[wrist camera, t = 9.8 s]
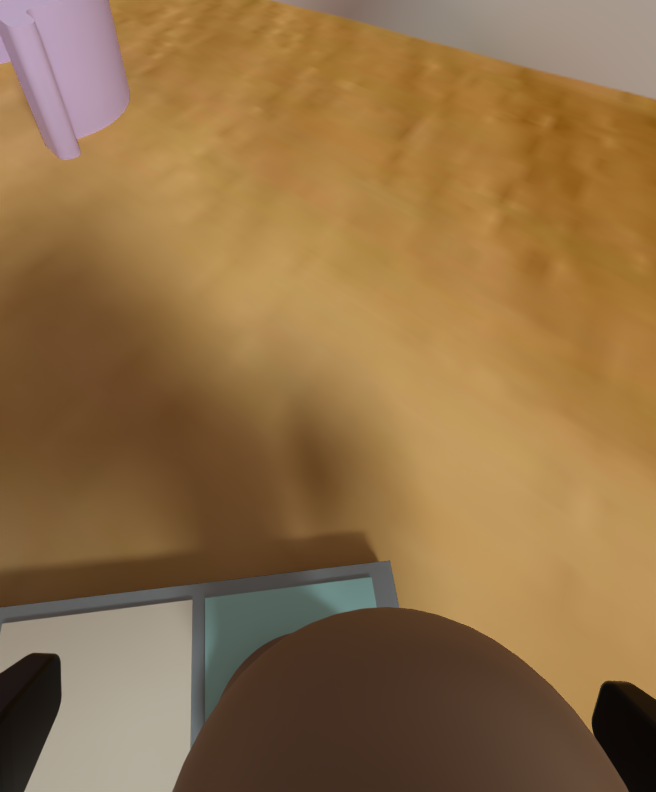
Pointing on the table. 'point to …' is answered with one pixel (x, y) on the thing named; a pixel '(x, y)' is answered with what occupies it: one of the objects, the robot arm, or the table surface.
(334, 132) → the table surface
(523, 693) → the pawn
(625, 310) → the table surface
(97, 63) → the clip
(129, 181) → the table surface
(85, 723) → the board
